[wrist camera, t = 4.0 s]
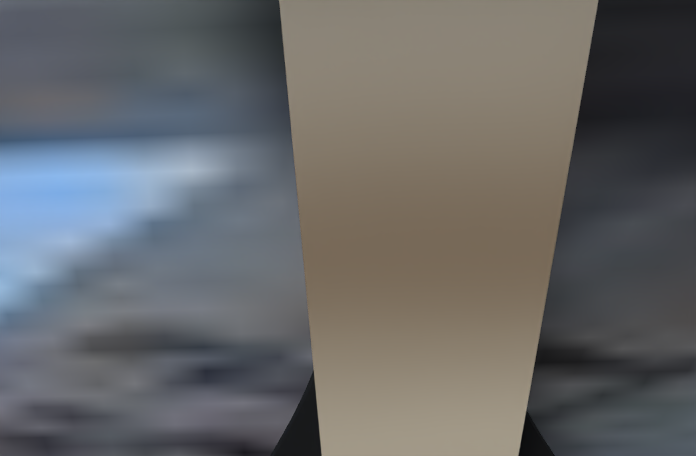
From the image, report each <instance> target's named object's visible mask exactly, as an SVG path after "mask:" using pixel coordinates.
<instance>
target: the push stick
mask: <svg viewBox="0 0 696 456" xmlns="http://www.w3.org/2000/svg"><path fill="white" fill-rule="evenodd" d="M279 3H280V14H281V25H282V36H283V46H284V57H285V68H286V78H287V89H288V100H289V110H290V121H291V132H292V143H293V153H294V164H295V175H296V185H297V196H298V207H299V217H300V228H301V239H302V250H303V260H304V271H305V282H306V292H307V303H308V314H309V324H310V335H311V346H312V357H313V367H314V378H315V389H316V399H317V410H318V421H319V431H320V442H321V453H322V456H518V455H519V449H520V443H521V438H522V432H523V426H524V421H525V415H526V409H527V403H528V398H529V392H530V386H531V381H532V375H533V369H534V364H535V358H536V352H537V347H538V341H539V335H540V330H541V324H542V318H543V312H544V307H545V301H546V295H547V290H548V284H549V278H550V273H551V267H552V261H553V256H554V250H555V244H556V239H557V233H558V227H559V221H560V216H561V210H562V204H563V199H564V193H565V187H566V182H567V176H568V170H569V165H570V159H571V153H572V148H573V142H574V136H575V130H576V125H577V119H578V113H579V108H580V102H581V96H582V91H583V85H584V79H585V74H586V68H587V62H588V56H589V51H590V45H591V39H592V34H593V28H594V22H595V17H596V11H597V5H598V0H279Z"/></svg>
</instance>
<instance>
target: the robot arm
mask: <svg viewBox="0 0 696 456" xmlns="http://www.w3.org/2000/svg"><path fill="white" fill-rule="evenodd" d="M271 456H322V453H321V442H320V431H319V421H318V410H317V399H316V389H315V378H314V370H313V373H312V376H311V378H310V381H309V383H308V385H307V388H306V390H305V392H304V394H303V397H302V399H301V401H300V403H299V405H298V407H297V409H296V411H295V413H294V415H293V417H292V419H291V420H290V422H289V424H288V426H287V428H286V429H285V431H284V433H283V435H282V437H281V438H280V440H279V442H278V444H277V445H276V447H275V449H274V451H273V452H272V454H271ZM518 456H555V455H554V454H553V452H552V451H551V449H550V448H549V446H548V445H547V443H546V442H545V440H544V439H543V437H542V436H541V434H540V432H539V431H538V429H537V427H536V426H535V424H534V422H533V421H532V419H531V417H530V416H529V414H528V412H527V411H526V415H525V421H524V426H523V432H522V438H521V443H520V449H519V455H518Z"/></svg>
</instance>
